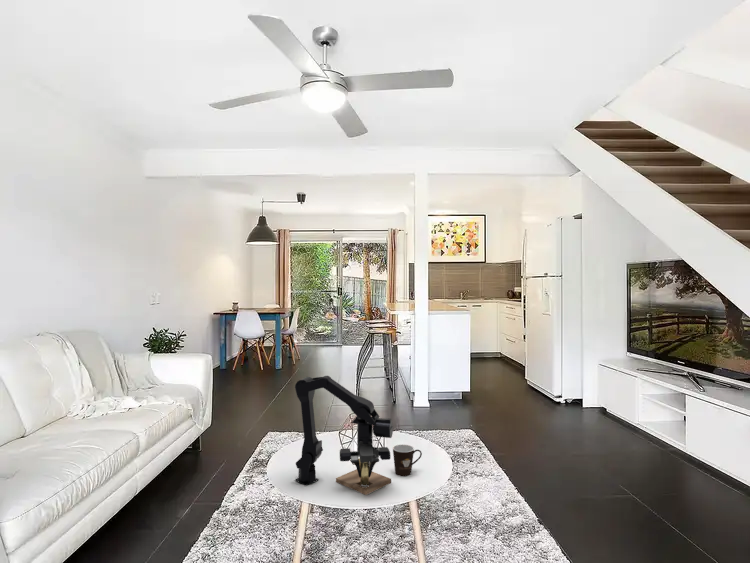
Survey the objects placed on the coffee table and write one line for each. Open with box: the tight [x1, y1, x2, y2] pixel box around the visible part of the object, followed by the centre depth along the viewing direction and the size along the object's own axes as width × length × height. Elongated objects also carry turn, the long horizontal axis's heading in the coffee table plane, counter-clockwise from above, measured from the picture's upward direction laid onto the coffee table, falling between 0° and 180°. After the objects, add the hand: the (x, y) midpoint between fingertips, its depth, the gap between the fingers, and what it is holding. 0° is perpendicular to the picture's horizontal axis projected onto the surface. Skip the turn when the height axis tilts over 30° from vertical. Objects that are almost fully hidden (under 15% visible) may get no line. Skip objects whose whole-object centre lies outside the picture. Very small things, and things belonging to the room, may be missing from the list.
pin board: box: [335, 457, 392, 496], centre depth 178 cm, size 16×14×7 cm
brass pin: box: [360, 462, 369, 486], centre depth 173 cm, size 3×3×8 cm
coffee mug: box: [392, 444, 423, 477], centre depth 186 cm, size 12×9×10 cm
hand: (364, 476), depth 173 cm, fingers closed on brass pin, 3 cm apart
